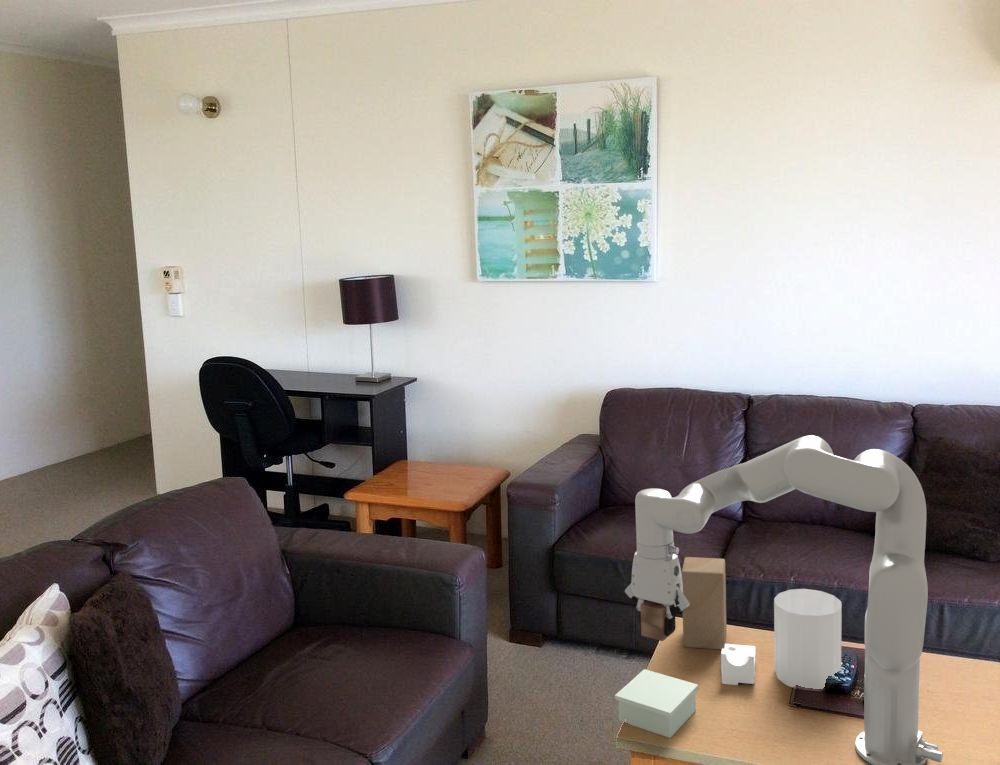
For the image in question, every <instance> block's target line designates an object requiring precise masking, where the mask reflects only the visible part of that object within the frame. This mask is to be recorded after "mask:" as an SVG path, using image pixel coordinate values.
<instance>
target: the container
mask: <svg viewBox="0 0 1000 765" xmlns="http://www.w3.org/2000/svg"><path fill="white" fill-rule="evenodd" d="M773 608H774V609H773V610H774V611H773V614H774V615H773V616H774V619H773V622H774V623H773V624H774V626H773V627H774V629H773V631H774V634H773V635H774V673H775V675H776V679H777V680H779V681H780V683H781V682H782V683H783V684H785V685H786V686H787V687H789V688H793V687H794V686H795V685H798V686H801V687H805V688H813V689H823V688H824V687H825V683H826V679H827V678H828V676H831V675H834V674H835V673H837V672H838V671H840V670H841V671H842V617H843V616H842V614H843V613H842V601H841V600H840V599H839V598H838V597H836V595H834V594H830V593H828V592H825V591H822V590H816V589H810V588H809V589H808V588H795V589H787V590H785V591H782V592H779V593H777V595H776V596H775V597H774V598H773Z"/></svg>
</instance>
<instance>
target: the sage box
mask: <svg viewBox="0 0 1000 765" xmlns="http://www.w3.org/2000/svg"><path fill="white" fill-rule="evenodd" d="M698 690H699V684H697V683H693V682H690V681H687V680H684V679H681V678H677V677H673V676H669V675H666V674H662V673H659V672H656V671H652V670H649V669H647V668H646V669H645V668H644V669H643V670H641V671H640V672H639V673H637V675H636V676H635V677H634V678H633V679H631V681H629V682H628V683H627V684H625V686H624V687H622V688H621V689H620V690H619V691H618V692H617V693H616V694H615V695H614V700H615V701H618V703H617V704H618V705H617V706H618V721H619V722H622V723H624V721H625V719H626V721H625V724H627V723H628V724H627V725H631V726H633V727H635V728H639V729H642V730H646V731H648V732H650V733H651V732H652V733H654V734H657V735H661V736H662V737H663V736H664V737H665V738H669V739H671V738H672V737H673V736H674V734H676V733H677V731H679V729H680V728H681V727H682V726H683V725H684V724H686V721H688V720H689V719H690V718H691V716H693V714H694V713H695V712H696V711H697V709H696V706H697V705H696V692H698Z"/></svg>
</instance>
